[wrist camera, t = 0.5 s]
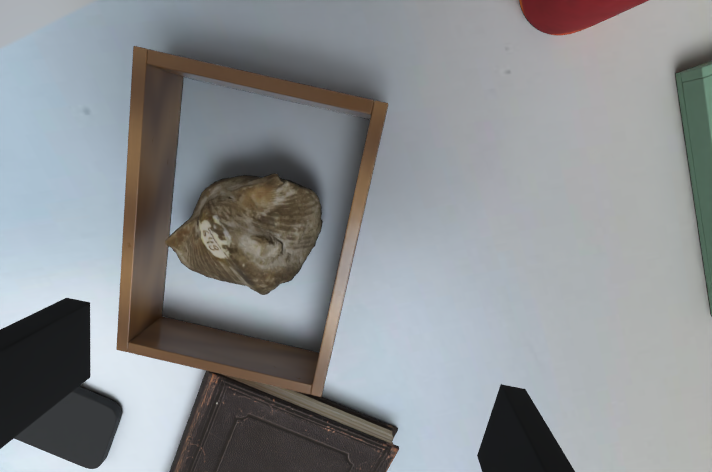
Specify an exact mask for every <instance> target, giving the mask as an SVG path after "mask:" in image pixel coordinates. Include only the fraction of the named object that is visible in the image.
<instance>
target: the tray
mask: <svg viewBox="0 0 712 472" xmlns="http://www.w3.org/2000/svg"><path fill="white" fill-rule="evenodd" d="M675 75H676V81H677V88H678V95H679V102H680V108H681V115H682V122H683V128H684V135H685V142H686V149H687V155H688V162H689V169H690V175H691V182H692V189H693V196H694V202H695V209H696V216H697V222H698V229H699V236H700V242H701V249H702V256H703V263H704V269H705V276H706V283H707V289H708V296H709V303H710V310H711V316H712V61H710V62H707V63H704V64H701V65H699V66H696V67H693V68H690V69H687V70H684V71H681V72H679V73H676V74H675Z"/></svg>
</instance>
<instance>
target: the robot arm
mask: <svg viewBox="0 0 712 472" xmlns="http://www.w3.org/2000/svg"><path fill="white" fill-rule="evenodd" d="M89 378H90V302H85V301H80V300H74V299H69V298H65V299H63V300H61V301H59V302H57V303H55V304H53V305H51V306H49V307H47V308H44V309H42V310H40V311H38V312H36V313H34V314H32V315H30V316H28V317H26V318H24V319H22V320H20V321H18V322H15V323H13V324H11V325H9V326H7V327H5V328H3V329H1V330H0V449H1V448H2V447H3V446H4V445H6V444H7V443H8V442H9V441H11V440H12V439H13V438H14V437H16V436H17V435H18V434H20V433H21V432H22V431H23V430H25V429H26V428H27V427H28V426H30V425H31V424H32V423H33V422H35V421H36V420H37V419H38V418H40V417H41V416H42V415H43V414H45V413H46V412H47V411H48V410H50V409H51V408H52V407H53V406H55V405H56V404H57V403H58V402H60V401H61V400H62V399H63V398H65V397H66V396H67V395H68V394H70V393H71V392H72V391H74V390H75V389H76V388H77V387H79V386H80V385H81V384H82V383H84V382H85V381H86V380H87V379H89ZM477 456H478V459H479V462H480V466H481V469H482V472H575V471H574V469H573V468H572V466H571V464H570V463H569V461H568V459H567V458H566V456H565V454H564V453H563V451H562V449H561V448H560V446H559V444H558V443H557V441H556V439H555V438H554V436H553V434H552V433H551V431H550V429H549V428H548V426H547V424H546V423H545V421H544V420H543V418H542V416H541V415H540V413H539V411H538V410H537V408H536V406H535V405H534V403H533V401H532V400H531V398H530V396H529V395H528V393H527V391H526V390H525V389H521V388H516V387H511V386H506V385H500V388H499V391H498V394H497V397H496V401H495V404H494V407H493V410H492V413H491V416H490V419H489V422H488V425H487V428H486V431H485V434H484V437H483V440H482V443H481V446H480V449H479V452H478V455H477Z"/></svg>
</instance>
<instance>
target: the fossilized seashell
mask: <svg viewBox="0 0 712 472" xmlns="http://www.w3.org/2000/svg"><path fill="white" fill-rule="evenodd" d="M321 209H322V207H321V204H320V201H319V198H318V196H317V195H316V193H315V192H314V191H313V190H311V189H308V188H306V187H303V186H301V185H298V184H296V183H294V182H292V181H289V180H285V179H282V178H280V177H279V175H278V174H272V175H269V176H265V177H257V176H248V175H243V176H236V177H231V178H225V179H221V180H219V181H216V182H214V183H213V184H211V185H210V186H209V187H207V188H206V189H205V190H204V191H203V192H202V193H201V196H200V198H199V200H198V203H197V205H196V207H195V209H194V212H193V215H192V216H191V218H190V219H189V220H188V221H186V222H185V223H184V224H183V225H182V226H180V227H179V228H178V229H177V230H176V231H175V232H174V233H173V234H172V235H170V236H169V237H168V238H167V239H166V240H165V244H166V245H167V246H170V247H171V248H172V249H173V250H174V251H175V252H176V253H177V256H178V258H179V259H180V261H181V263H183V264H184V265H185V266H186V267H188V268H189V269H190V270H192V271H195V272H198V273H200V274H202V275H204V276H206V277H210V278H214V279H217V280H220V281H226V282H229V283H235V284H240V285H245V286H248V287H250V288H251V289H253V290H254V291H256V292H258V293H259V294H262V295H265V294H268V293H269V292H270V291H272V290H274V289H275V288H276V287H277V286H278V285H279V284H281V283H285V282H288V281H291V280H292V279H293V278H294V276H295V275H296V274H297V273H298V272H299V271H300V269H301V267H302V265H303V263H304V261H305V260H306V258H307V256H308V255H309V254H310V252H311V249H312V248H313V247H314V246H315V243H316V240H317V238H318V235H319V233H320V232H321V227H322V222H323V221H322V219H321V215H322V211H321Z"/></svg>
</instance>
